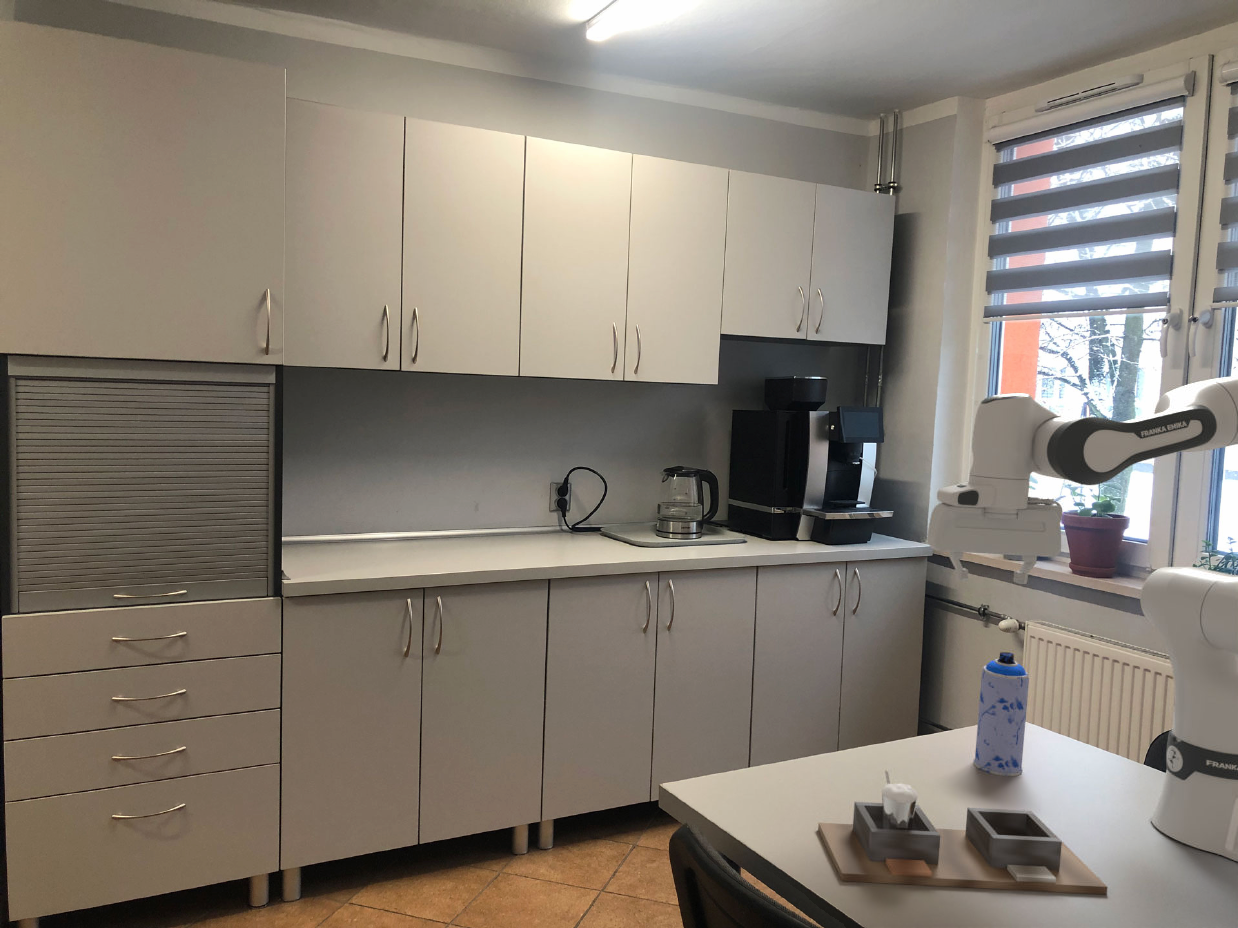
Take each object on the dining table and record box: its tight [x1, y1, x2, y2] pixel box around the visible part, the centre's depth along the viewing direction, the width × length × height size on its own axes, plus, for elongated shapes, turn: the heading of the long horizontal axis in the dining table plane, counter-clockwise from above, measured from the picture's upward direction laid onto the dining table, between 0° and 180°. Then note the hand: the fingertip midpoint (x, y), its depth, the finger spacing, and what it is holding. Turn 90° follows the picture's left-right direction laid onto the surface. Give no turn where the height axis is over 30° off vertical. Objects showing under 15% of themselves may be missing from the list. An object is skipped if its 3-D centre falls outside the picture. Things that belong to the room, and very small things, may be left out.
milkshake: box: [881, 769, 919, 830], centre depth 123 cm, size 4×5×10 cm
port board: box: [817, 801, 1108, 895], centre depth 123 cm, size 34×14×5 cm, turn 90°
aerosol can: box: [973, 651, 1030, 777], centre depth 156 cm, size 8×8×20 cm
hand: (990, 581), depth 145 cm, fingers open, 8 cm apart
